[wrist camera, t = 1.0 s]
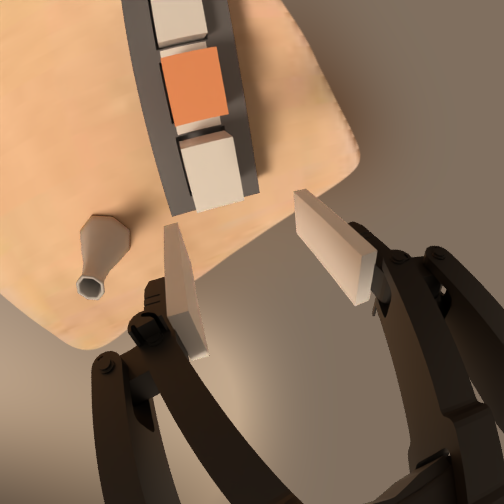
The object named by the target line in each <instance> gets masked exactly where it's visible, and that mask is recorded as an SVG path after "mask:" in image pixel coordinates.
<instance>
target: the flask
mask: <svg viewBox="0 0 504 504" xmlns="http://www.w3.org/2000/svg"><path fill="white" fill-rule="evenodd" d="M80 239H81V251H82V258H83V272H82V275H81V277H80V278H79V279H78V281H77V282H76V285H77V291H78V294H80V295H82V296H83V297H85V298H86V299H90V300H99V299H100V298H101V296H102V295H103V294H104V292H105V290H104V280H105V278H106V276H107V275H108V273H109V271H110V270H111V269H112V268H113V267H114V266H115V265H116V264H117V263H118V262H119V261H120V260H121V259H122V257H123V256H124V255H125V254H126V253H127V252H128V251H129V242H130V230H129V229H128V228H126V227H125V226H124V225H123V224H121V223H120V222H119V221H118V220H116V219H115V218H114V217H108V216H91V217H90V218H89V220H88V221H87V222H86V224H85V225H84V226H83V228H82V229H81V231H80Z"/></svg>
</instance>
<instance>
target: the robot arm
mask: <svg viewBox="0 0 504 504" xmlns="http://www.w3.org/2000/svg"><path fill="white" fill-rule="evenodd" d="M293 194H294V205H295V217H296V231H297V234H298V235H299V237H300V238H301V239H302V240H303V241H304V243H305V244H306V245H307V246H308V247H309V249H310V250H311V251H312V252H313V254H314V255H315V256H316V257H317V258H318V260H319V261H320V262H321V263H322V265H323V266H324V267H325V268H326V270H327V271H328V272H329V273H330V274H331V276H332V277H333V278H334V280H335V281H336V282H337V283H338V285H339V286H340V287H341V289H342V290H343V291H344V292H345V294H346V295H347V296H348V298H349V299H350V300H351V301H352V303H353V304H354V305H355V306H357V305H359V304H361V303H364V302H366V301H368V300H369V298H370V293H371V291H372V292H373V293H374V294H375V296H376V298H375V303H374V307H373V312H372V315H373V316H375V313H376V309H377V312H378V315H379V318H380V321H381V324H382V327H383V330H384V333H385V336H386V340H387V343H388V347H389V350H390V353H391V357H392V360H393V364H394V368H395V371H396V375H397V379H398V383H399V387H400V391H401V396H402V400H403V404H404V409H405V413H406V418H407V423H408V427H409V433H410V440H411V442H410V447H409V450H408V461H409V469H410V474H408V475H407V476H405V477H404V478H402V479H400V480H399V481H397V482H395V483H394V484H393V485H392V486H391V487H390V488H389V489H387V490H386V491H385V492H384V493H383V494H382V495H381V496H379V497H378V498H377V499H376V500H374V501H373V502H369V503H365V504H504V459H503V454H502V449H501V444H500V440H499V436H498V432H497V428H496V424H497V425H498V426H499V428H500V429H501V430H502V431H503V433H504V309H503V308H502V306H501V305H500V304H499V303H498V302H497V301H496V300H495V298H494V297H493V296H492V295H491V294H490V293H489V292H488V291H487V290H486V289H485V288H484V286H483V285H482V284H481V283H480V282H479V281H478V280H477V279H476V278H475V277H474V276H473V275H472V274H471V273H470V272H469V271H468V270H467V269H466V268H465V267H464V266H463V265H462V264H461V263H460V262H459V261H458V260H457V259H456V258H455V257H454V256H453V255H452V254H451V253H449V252H448V251H447V250H446V249H444V248H442V247H439V246H430V247H428V248H427V249H426V251H425V255H424V256H421V257H411V256H410V255H409V254H407V253H405V252H404V251H401V250H390V249H389V248H388V247H387V246H386V245H385V244H384V243H383V242H381V241H380V240H379V239H378V238H377V237H375V236H374V235H373V234H372V233H371V232H369V230H367V229H366V228H365V227H364V226H363V225H360V224H358V223H356V222H350V223H346V222H345V221H344V220H343V219H342V218H340V217H339V216H338V215H337V214H336V213H334V212H333V211H332V210H331V209H330V208H329V207H327V206H326V205H325V204H324V203H322V202H321V201H320V200H319V199H318V198H316V197H315V196H314V195H313V194H312V193H310V192H309V191H308V190H307V189H302V190H298V191H294V192H293ZM164 267H165V277H162V278H159V279H156V280H152V281H149V282H148V284H147V286H146V288H145V293H144V299H145V300H144V306H145V307H144V311H142V312H139V313H138V314H136V315H135V316H134V317H133V318H132V319H131V320H130V322H129V325H128V333H129V335H130V336H131V337H132V339H133V340H134V342H135V343H136V345H137V346H136V347H134V348H133V349H131V350H130V351H128V352H126V353H124V354H122V355H120V356H119V354H118V353H116V352H113V351H107V352H104V353H102V354H100V355H99V356H98V357H97V358H96V359H95V361H94V363H93V365H92V372H91V374H92V375H91V378H92V379H91V380H92V382H91V383H92V414H93V428H94V439H95V448H96V456H97V464H98V470H99V476H100V482H101V487H102V492H103V497H104V502H105V504H181V503H180V500H179V497H178V494H177V491H176V488H175V485H174V482H173V478H172V475H171V472H170V468H169V465H168V461H167V458H166V454H165V450H164V446H163V442H162V438H161V434H160V430H159V425H158V421H157V417H156V411H155V407H154V401H153V397H154V396H156V395H158V394H159V393H160V394H161V396H162V398H163V400H164V401H165V403H166V405H167V407H168V409H169V411H170V413H171V414H172V416H173V418H174V420H175V422H176V423H177V425H178V427H179V428H180V430H181V432H182V433H183V435H184V437H185V438H186V440H187V442H188V443H189V445H190V447H191V448H192V449H193V451H194V453H195V454H196V456H197V457H198V459H199V460H200V462H201V463H202V465H203V466H204V468H205V469H206V471H207V472H208V474H209V475H210V477H211V478H212V479H213V481H214V482H215V483H216V485H217V486H218V487H219V489H220V490H221V492H223V494H224V495H225V497H226V498H227V499H228V501H229V502H230V503H231V504H303V503H302V502H301V501H300V500H299V499H298V498H297V497H296V496H295V495H294V494H293V493H292V492H291V491H290V490H289V489H288V488H287V487H286V486H285V485H284V484H283V483H282V482H281V480H280V479H279V478H278V477H277V476H276V475H275V474H274V473H273V472H272V471H271V469H270V468H269V467H268V466H267V465H266V464H265V463H264V462H263V460H262V459H261V458H260V457H259V456H258V454H257V453H256V452H255V451H254V450H253V448H252V447H251V446H250V445H249V444H248V442H247V441H246V440H245V439H244V437H243V436H242V435H241V434H240V432H239V431H238V430H237V429H236V427H235V426H234V425H233V423H232V422H231V421H230V419H229V418H228V417H227V415H226V414H225V413H224V411H223V410H222V409H221V407H220V406H219V404H218V403H217V402H216V400H215V399H214V397H213V396H212V395H211V393H210V392H209V390H208V389H207V388H206V386H205V385H204V383H203V382H202V381H201V379H200V377H199V376H198V374H197V373H196V371H195V370H194V368H193V367H192V365H191V364H190V362H189V357H190V359H191V360H192V361H193V360H196V359H200V358H204V357H208V356H209V352H208V347H207V343H206V338H205V333H204V329H203V324H202V319H201V314H200V309H199V304H198V299H197V293H196V288H195V283H194V277H193V271H192V266H191V262H190V259H189V256H188V253H187V250H186V247H185V244H184V241H183V238H182V235H181V232H180V229H179V225H178V222H177V223H174V224H170V225H167V226H164ZM442 286H444V287H445V288H446V293H445V294H443V293H442V292H441V288H442ZM188 355H189V357H188ZM469 378H470V379H469ZM470 380H471V381H472V383H473V385H474V386H475V388H476V389H477V391H478V393H479V394H480V396H481V398H482V400H483V401H484V403H480V402H478V401H477V399H476V397H475V394H474V391H473V388H472V385H471V382H470ZM495 422H496V424H495ZM449 453H450V456H448V455H449Z"/></svg>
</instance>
